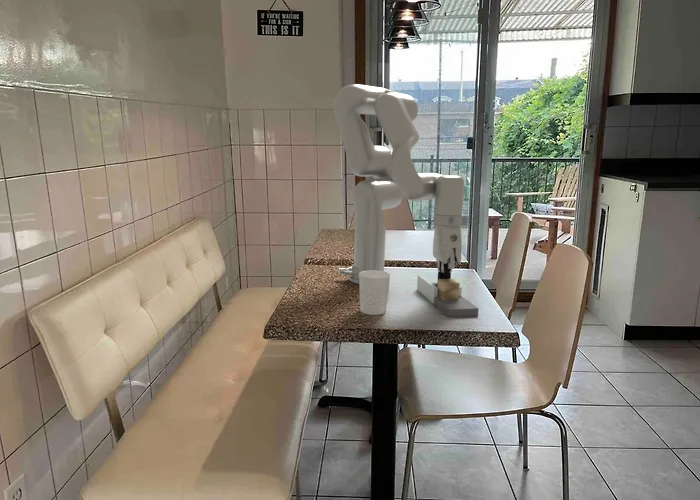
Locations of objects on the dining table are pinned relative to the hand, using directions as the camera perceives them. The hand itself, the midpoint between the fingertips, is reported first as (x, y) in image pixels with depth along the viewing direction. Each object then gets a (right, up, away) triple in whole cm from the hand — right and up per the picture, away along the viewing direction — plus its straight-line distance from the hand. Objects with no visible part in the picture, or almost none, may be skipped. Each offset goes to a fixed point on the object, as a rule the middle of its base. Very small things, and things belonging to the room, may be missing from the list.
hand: (443, 285), depth 151 cm
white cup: (-20, -6, -11) cm, 24 cm away
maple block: (0, -3, -4) cm, 5 cm away
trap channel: (0, -5, -2) cm, 5 cm away
